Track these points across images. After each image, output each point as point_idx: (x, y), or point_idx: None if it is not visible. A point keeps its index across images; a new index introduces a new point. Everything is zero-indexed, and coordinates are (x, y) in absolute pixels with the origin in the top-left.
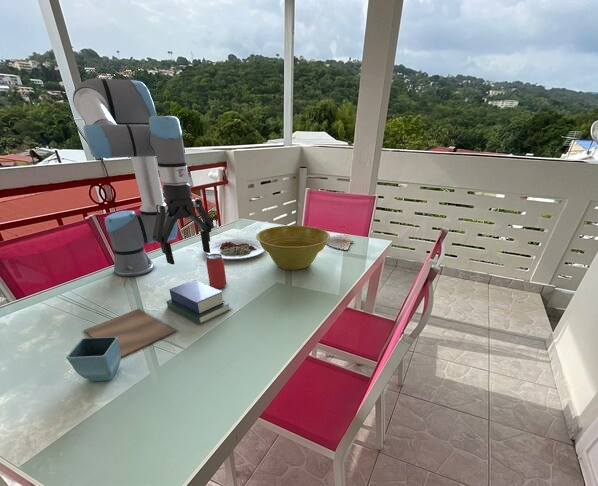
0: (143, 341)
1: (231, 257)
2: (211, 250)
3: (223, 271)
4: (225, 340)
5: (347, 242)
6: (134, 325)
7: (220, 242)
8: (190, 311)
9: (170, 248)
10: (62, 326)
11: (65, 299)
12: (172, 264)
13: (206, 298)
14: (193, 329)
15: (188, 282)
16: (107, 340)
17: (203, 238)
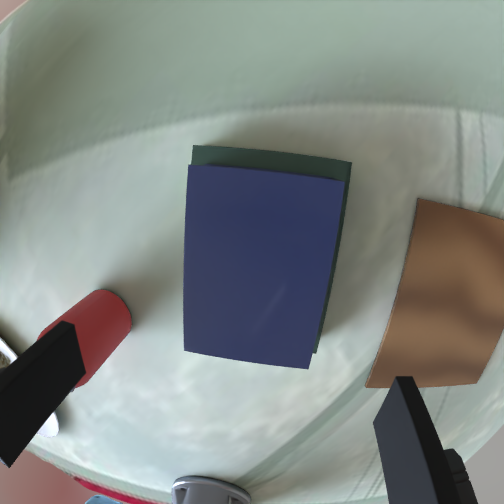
0: (488, 234)
1: None
2: (46, 423)
3: (69, 312)
4: (362, 31)
5: None
6: (441, 323)
7: None
8: None
9: (439, 476)
10: (464, 419)
11: (377, 486)
12: (410, 377)
13: (286, 173)
14: (379, 158)
15: (216, 354)
16: None
17: (23, 416)
